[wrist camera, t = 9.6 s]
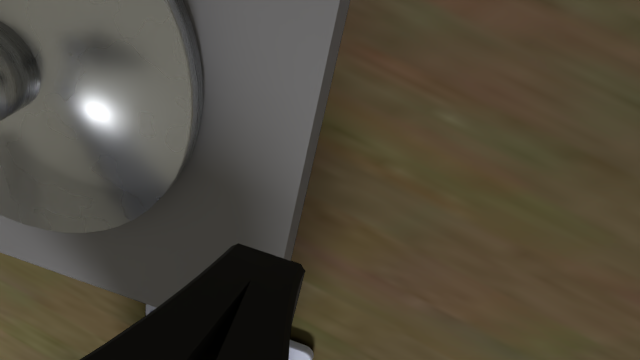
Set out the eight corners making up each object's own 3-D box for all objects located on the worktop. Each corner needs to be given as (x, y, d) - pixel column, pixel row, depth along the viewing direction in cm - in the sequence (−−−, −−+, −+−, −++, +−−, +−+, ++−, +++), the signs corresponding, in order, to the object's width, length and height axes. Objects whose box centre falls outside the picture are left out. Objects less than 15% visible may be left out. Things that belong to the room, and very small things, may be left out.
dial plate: (278, 314, 24) (263, 347, 23) (-117, 178, 27) (-155, 199, 25) (406, -248, 13) (395, -259, 12) (-292, -408, 15) (-380, -436, 14)
